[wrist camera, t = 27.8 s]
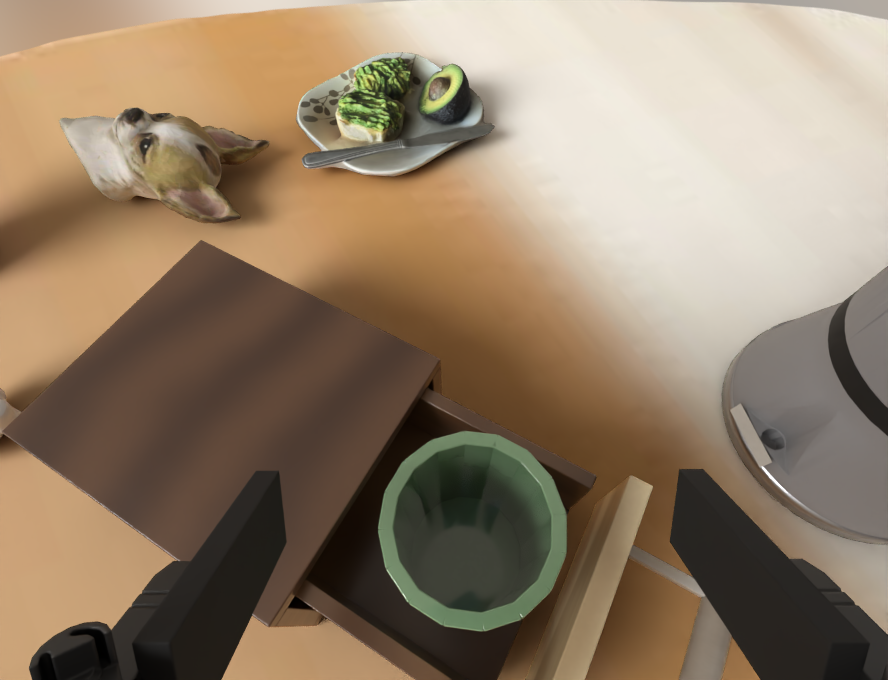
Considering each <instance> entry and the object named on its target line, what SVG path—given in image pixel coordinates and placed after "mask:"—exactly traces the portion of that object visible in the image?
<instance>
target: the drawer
mask: <svg viewBox="0 0 888 680" xmlns="http://www.w3.org/2000/svg"><path fill="white" fill-rule="evenodd" d="M462 431H463V432H464V431H470V432H479V433H488V434H496V435H500V436H501V437H503V438H505V439H507V440H509V441H511V442H513V443H515V444H517V445H519V446H521V447H522V448H524V449H526V450H528V452H530V453H531V454H532V455H533V456H534V457H535V459H536V460H537V461H538V462H539V463H540V464H541V465H542V466H543V468H544V469H545V470H546V471H547V472H548V473H549V474H550V475H551V477H552V479H553V480H554V482H555V485H556V487H557V490H558V492H559V495H560V498H561V500H562V503H563V505H564V508H565V511H566V515H567V514H568V512H569V510H570V509H571V508H572V507H573V506H574V505H575V504H576V503H577V502H578V501H579V500H580V499H581V498H582V497H583V496H584V495H586V494H587V493H588V492H589V491H590V490H591V489H592V487H593V485H594V482H595V480H596V475H594V474H592V473H590V472H588V471H586V470H585V469H583V468H581V467H579V466H577V465H575V464H573V463H571V462H569V461H567V460H565V459H563V458H561V457H559V456H558V455H556V454H554V453H552V452H550V451H548V450H546V449H544V448H542V447H540V446H538V445H536V444H534V443H533V442H531V441H529V440H527V439H525V438H523V437H521V436H519V435H517V434H515V433H513V432H511V431H509V430H508V429H506V428H504V427H502V426H500V425H498V424H496V423H494V422H492V421H490V420H488V419H486V418H484V417H482V416H481V415H479V414H477V413H475V412H473V411H471V410H469V409H467V408H465V407H463V406H461V405H459V404H457V403H456V402H454V401H452V400H450V399H448V398H446V397H444V396H442V395H440V394H438V393H436V392H434V391H432V390H431V389H429V388H426V390H425V391H424V393H423V394H422V396H421V398H420V399H419V401H418V402H417V404H416V406H415V407H414V409H413V410H412V412H411V413H410V415H409V417H408V418H407V420H406V421H405V423H404V424H403V426H402V428H401V429H400V431H399V432H398V434H397V435H396V437H395V439H394V440H393V442H392V443H391V445H390V447H389V448H388V450H387V451H386V453H385V454H384V456H383V458H382V459H381V461H380V462H379V464H378V465H377V467H376V469H375V470H374V472H373V473H372V475H371V476H370V478H369V480H368V481H367V483H366V484H365V486H364V488H363V489H362V491H361V492H360V494H359V495H358V497H357V499H356V500H355V502H354V503H353V505H352V506H351V508H350V510H349V511H348V513H347V514H346V516H345V517H344V519H343V521H342V522H341V524H340V525H339V527H338V529H337V530H336V532H335V533H334V535H333V536H332V538H331V540H330V541H329V543H328V544H327V546H326V547H325V549H324V551H323V552H322V554H321V555H320V557H319V558H318V560H317V562H316V563H315V565H314V566H313V568H312V570H311V571H310V573H309V574H308V576H307V577H306V579H305V581H304V582H303V584H302V585H301V587H300V588H299V590H298V592H297V593H296V595H295V596H296V597H297V598H299V599H300V600H302V601H303V602H305V603H306V604H307V605H309V606H310V607H312V608H313V609H315V610H316V611H318V612H319V613H320V614H322V615H323V616H325V617H326V618H328V619H329V620H330V621H332V622H333V623H335V624H336V625H338V626H339V627H340V628H342V629H343V630H345V631H346V632H348V633H349V634H350V635H352V636H353V637H355V638H356V639H358V640H359V641H360V642H362V643H363V644H365V645H366V646H368V647H369V648H371V649H372V650H373V651H375V652H376V653H378V654H379V655H381V656H382V657H383V658H385V659H386V660H388V661H389V662H391V663H392V664H393V665H395V666H396V667H398V668H399V669H401V670H402V671H403V672H405V673H406V674H408V675H409V676H411V677H412V678H414V679H415V680H497V679H498V677H499V674H500V672H501V670H502V667H503V665H504V663H505V660H506V658H507V655H508V653H509V651H510V648H511V646H512V644H513V641H514V639H515V637H516V634H517V632H518V630H519V627H520V625H521V623H522V620H523V618H522V619H521V620H519V621H516V622H513V623H510V624H507V625H504V626H501V627H497V628H494V629H491V630H488V631H482V632H480V631H473V630H466V629H458V628H451V627H445V626H444V625H440V624H439V623H437V622H436V621H434V620H433V619H431V618H429V617H428V616H426V615H425V614H423V613H422V612H420V611H419V610H417V609H416V608H414V607H413V606H411V605H410V604H409V603H408V602H407V601H406V600H405V598H404V596H403V595H402V593H401V592H400V590H399V589H398V587H397V586H396V584H395V583H394V581H393V580H392V578H391V577H390V575H389V574H388V572H387V570H386V568H385V564H384V559H383V554H382V549H381V544H380V539H379V534H378V530H379V529H378V524H379V519H380V513H381V508H382V502H383V496H384V493H385V490H386V488H387V486H388V485H389V483H390V481H391V480H392V478H393V477H394V475H395V473H396V472H397V470H398V468H399V467H400V465H401V463H402V462H403V461H404V460H405V459H406V458H408V457H409V456H410V455H412V454H413V453H414V452H415V451H417V450H418V449H419V448H421V447H422V446H423V445H425V444H426V443H427V442H429V441H432V440H433V439H436V438H439V437H443V436H447V435H450V434H454V433H458V432H462ZM652 489H653V486H652V485H650V484H648V483H646V482H644V481H642V480H640V479H638V478H636V477H634V476H632V475H630V476H629V477H628V478H626V479H625V480H624V481H623V482H621V483H620V484H619V485H618V486H616V487H615V488H614V489H613V490H612V491H610V492H609V493H608V494H607V495H605V496H604V497H603V498H602V499H600V500H599V501H598V502H597V503H596V504H595V507H594V509H593V512H592V514H591V517H590V519H589V522H588V524H587V527H586V529H585V532H584V534H583V537H582V539H581V541H580V544H579V546H578V549H577V551H576V554H575V556H574V559H573V561H572V564H571V566H570V569H569V571H568V574H567V576H566V579H565V581H564V584H563V586H562V589H561V591H560V594H559V596H558V599H557V601H556V604H555V606H554V609H553V611H552V614H551V616H550V619H549V621H548V623H547V626H546V628H545V631H544V633H543V636H542V638H541V641H540V643H539V646H538V648H537V651H536V653H535V656H534V658H533V661H532V663H531V666H530V668H529V671H528V673H527V676H526V678H525V680H585V678H586V676H587V673H588V670H589V667H590V664H591V661H592V659H593V656H594V653H595V650H596V647H597V644H598V642H599V639H600V636H601V633H602V630H603V627H604V625H605V622H606V619H607V616H608V613H609V610H610V608H611V605H612V602H613V599H614V596H615V593H616V591H617V588H618V585H619V582H620V579H621V576H622V574H623V571H624V568H625V565H626V562H627V560H628V558H630V559H631V560H633V561H635V562H637V563H639V564H640V565H642V566H644V567H646V568H648V569H649V570H651V571H653V572H655V573H657V574H658V575H660V576H662V577H664V578H666V579H667V580H669V581H671V582H673V583H675V584H676V585H678V586H680V587H682V588H684V589H686V590H687V591H689V592H691V593H693V594H695V595H696V596H698V597H701V600H700V604H699V608H698V611H697V615H696V619H695V622H694V626H693V629H692V633H691V637H690V640H689V644H688V647H687V651H686V655H685V658H684V662H683V665H682V669H681V673H680V676H679V680H722V676H723V672H724V668H725V664H726V659H727V655H728V651H729V647H730V643H731V639H732V635H731V634H730V632H729V631H728V629H727V628H726V626H725V625H724V623H723V622H722V620H721V619H720V617H719V616H718V614H717V613H716V611H715V609H714V608H713V606H712V605H711V603H710V602H709V600H708V599H707V597H706V596H705V594H704V593H703V591H702V590H701V588H700V587H699V585H698V584H697V582H696V581H695V579H694V578H693V577H691V576H690V575H688V574H686V573H684V572H682V571H680V570H679V569H677V568H675V567H673V566H671V565H669V564H668V563H666V562H664V561H662V560H660V559H658V558H657V557H655V556H653V555H651V554H649V553H647V552H646V551H644V550H642V549H640V548H638V547H636V546H635V545H633V543H634V540H635V537H636V534H637V531H638V528H639V526H640V523H641V520H642V517H643V514H644V511H645V509H646V506H647V503H648V500H649V497H650V494H651V492H652Z"/></svg>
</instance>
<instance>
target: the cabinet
mask: <svg viewBox="0 0 888 680" xmlns="http://www.w3.org/2000/svg"><path fill="white" fill-rule="evenodd" d="M426 388H429V389H431V390H432V391H434V392H436V393H438V394H440V395H442V389H441V366H440V359H439V358H437V357H435V356H433V355H431V354H429V353H427V352H425V351H423V350H421V349H419V348H417V347H415V346H413V345H411V344H409V343H407V342H405V341H403V340H401V339H399V338H397V337H395V336H393V335H391V334H389V333H387V332H385V331H383V330H381V329H379V328H377V327H375V326H373V325H371V324H369V323H367V322H365V321H362V320H360V319H358V318H356V317H354V316H352V315H350V314H348V313H346V312H344V311H342V310H340V309H338V308H336V307H334V306H332V305H330V304H328V303H326V302H324V301H322V300H320V299H318V298H316V297H314V296H312V295H310V294H308V293H306V292H304V291H302V290H300V289H298V288H296V287H294V286H292V285H290V284H288V283H286V282H284V281H282V280H280V279H278V278H276V277H274V276H272V275H270V274H268V273H266V272H264V271H262V270H260V269H258V268H256V267H254V266H252V265H250V264H248V263H246V262H244V261H242V260H240V259H238V258H236V257H234V256H232V255H230V254H228V253H226V252H224V251H222V250H220V249H218V248H216V247H214V246H212V245H210V244H208V243H206V242H204V241H202V240H201V241H199V242H198V243H197V244H196V245H195V246H194V247H193V248H192V249H191V250H190V251H189V252H188V253H187V254H186V255H185V256H184V257H183V258H182V259H181V260H180V261H179V262H178V263H177V264H175V265H174V266H173V267H172V268H171V269H170V270H169V271H168V272H167V273H166V274H165V275H164V276H163V277H162V278H161V279H160V280H159V281H158V282H157V283H156V284H155V285H154V286H153V287H152V288H150V289H149V290H148V291H147V292H146V293H145V294H144V295H143V296H142V297H141V298H140V299H139V300H138V301H137V302H136V303H135V304H134V305H133V306H132V307H131V308H130V309H129V310H128V311H127V312H125V313H124V314H123V315H122V316H121V317H120V318H119V319H118V320H117V321H116V322H115V323H114V324H113V325H112V326H111V327H110V328H109V329H108V330H107V331H106V332H105V333H104V334H103V335H102V336H100V337H99V338H98V339H97V340H96V341H95V342H94V343H93V344H92V345H91V346H90V347H89V348H88V349H87V350H86V351H85V352H84V353H83V354H82V355H81V356H80V357H79V358H78V359H76V360H75V361H74V362H73V363H72V364H71V365H70V366H69V367H68V368H67V369H66V370H65V371H64V372H63V373H62V374H61V375H60V376H59V377H58V378H57V379H56V380H55V381H54V382H53V383H51V384H50V385H49V386H48V387H47V388H46V389H45V390H44V391H43V392H42V393H41V394H40V395H39V396H38V397H37V398H36V399H35V400H34V401H33V402H32V403H31V404H30V405H29V406H28V407H26V408H25V409H24V410H23V411H22V412H21V413H20V414H19V415H18V416H17V417H16V418H15V419H14V420H13V421H12V422H11V423H10V424H9V425H8V426H7V427H6V428H5V429H4V430H3V431H2V433H3V434H4V435H6V436H7V437H8V438H10V439H11V440H13V441H14V442H15V443H17V444H18V445H19V446H21V447H22V448H24V449H25V450H26V451H28V452H29V453H30V454H32V455H33V456H34V457H36V458H37V459H39V460H40V461H41V462H43V463H44V464H45V465H47V466H48V467H50V468H51V469H52V470H54V471H55V472H56V473H58V474H59V475H60V476H62V477H63V478H65V479H66V480H67V481H69V482H70V483H71V484H73V485H74V486H76V487H77V488H78V489H80V490H81V491H82V492H84V493H85V494H86V495H88V496H89V497H91V498H92V499H93V500H95V501H96V502H97V503H99V504H100V505H102V506H103V507H104V508H106V509H107V510H108V511H110V512H111V513H112V514H114V515H115V516H117V517H118V518H119V519H121V520H122V521H123V522H125V523H126V524H128V525H129V526H130V527H132V528H133V529H134V530H136V531H137V532H138V533H140V534H141V535H143V536H144V537H145V538H147V539H148V540H149V541H151V542H152V543H154V544H155V545H156V546H158V547H159V548H160V549H162V550H163V551H164V552H166V553H167V554H169V555H170V556H171V557H173V558H174V559H175V560H177V561H191V560H192V559H193V557H194V556H195V555H196V553H197V552H198V550H199V549H200V548H201V546H202V545H203V543H204V542H205V541H206V539H207V538H208V537H209V535H210V534H211V532H212V531H213V530H214V528H215V527H216V525H217V524H218V523H219V521H220V520H221V519H222V517H223V516H224V514H225V513H226V512H227V510H228V509H229V507H230V506H231V505H232V503H233V502H234V500H235V499H236V498H237V496H238V495H239V494H240V492H241V491H242V489H243V488H244V487H245V485H246V484H247V482H248V481H249V480H250V478H251V477H252V476H253V474H254V473H255V471H279V474H280V483H281V493H282V502H283V511H284V520H285V530H286V539H287V543H286V545H285V547H284V549H283V551H282V553H281V556H280V558H279V560H278V562H277V564H276V566H275V568H274V570H273V572H272V574H271V577H270V579H269V581H268V583H267V585H266V587H265V589H264V591H263V593H262V595H261V598H260V600H259V602H258V604H257V606H256V608H255V610H254V612H253V614H252V616H253V617H255V618H256V619H258V620H259V621H260V622H262V623H263V624H264V625H266V626H267V627H291V626H317V625H318V623H319V622H320V620H321V618H322V617H323V615H322V614H320V613H319V612H318V611H316V610H315V609H313V608H312V607H310V606H309V605H307V604H306V603H305V602H303V601H302V600H300V599H299V598H297V597H296V596H295V595H296V593H297V592H298V590H299V588H300V587H301V585H302V584H303V582H304V581H305V579H306V577H307V576H308V574H309V573H310V571H311V570H312V568H313V566H314V565H315V563H316V562H317V560H318V558H319V557H320V555H321V554H322V552H323V551H324V549H325V547H326V546H327V544H328V543H329V541H330V540H331V538H332V536H333V535H334V533H335V532H336V530H337V529H338V527H339V525H340V524H341V522H342V521H343V519H344V517H345V516H346V514H347V513H348V511H349V510H350V508H351V506H352V505H353V503H354V502H355V500H356V499H357V497H358V495H359V494H360V492H361V491H362V489H363V488H364V486H365V484H366V483H367V481H368V480H369V478H370V476H371V475H372V473H373V472H374V470H375V469H376V467H377V465H378V464H379V462H380V461H381V459H382V458H383V456H384V454H385V453H386V451H387V450H388V448H389V447H390V445H391V443H392V442H393V440H394V439H395V437H396V435H397V434H398V432H399V431H400V429H401V428H402V426H403V424H404V423H405V421H406V420H407V418H408V417H409V415H410V413H411V412H412V410H413V409H414V407H415V406H416V404H417V402H418V401H419V399H420V398H421V396H422V394H423V393H424V391H425V390H426Z"/></svg>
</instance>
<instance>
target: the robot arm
mask: <svg viewBox="0 0 888 680" xmlns="http://www.w3.org/2000/svg"><path fill="white" fill-rule="evenodd" d="M722 408H723V415H724V420H725V424H726V427H727V430H728V433H729V436H730V438H731V441H732V443H733V445H734V447H735V449H736V451H737V453H738V455H739V456H740V458H741V459H742V461H743V463H744V464H745V466H746V467H747V468H748V470H749V471H750V472H751V474H752V475H753V476H754V477H755V479H756V480H757V481H758V482H759V483H760V484H761V485H762V486H763V487H764V488H765V489H766V490H767V491H768V492H769V493H770V494H771V495H772V496H773V497H774V498H775V499H776V500H778V501H779V502H780V503H781V504H782V505H784V506H785V507H786V508H788V509H789V510H790V511H792V512H793V513H794V514H796V515H798V516H799V517H801V518H802V519H804V520H806V521H807V522H809V523H811V524H813V525H815V526H817V527H819V528H821V529H823V530H825V531H828V532H830V533H832V534H835V535H838V536H841V537H844V538H847V539H851V540H855V541H859V542H865V543H872V544H888V266H887V267H886V268H885V269H884V270H882V271H881V272H880V273H878V274H877V275H876V276H875V277H873V278H872V279H871V280H870V281H868V282H867V283H866V284H865V285H863V286H862V287H861V288H860V289H859V290H858V291H856V292H855V293H854V294H853V295H851V296H850V297H849V298H848V299H846V300H845V301H844V302H842V303H839V304H837V305H834V306H831V307H828V308H825V309H822V310H820V311H817V312H814V313H811V314H809V315H806V316H803V317H801V318H798V319H795V320H791V321H787V322H784V323H781V324H779V325H777V326H774V327H772V328H771V329H769V330H767V331H765V332H763V333H762V334H760V335H759V336H757V337H756V338H755V339H753V340H752V341H751V342H750V343H749V344H748V345H747V346H746V347H745V348H744V349H743V350H742V351H741V352H740V353H739V354H738V355H737V356H736V357H735V359H734V360H733V361H732V363H731V365H730V367H729V368H728V371H727V373H726V376H725V379H724V383H723V390H722ZM286 543H287V539H286V530H285V520H284V511H283V502H282V493H281V483H280V474H279V471H255V473H254V474H253V476H252V477H251V478H250V480H249V481H248V482H247V484H246V485H245V487H244V488H243V489H242V491H241V492H240V494H239V495H238V496H237V498H236V499H235V500H234V502H233V503H232V505H231V506H230V507H229V509H228V510H227V512H226V513H225V514H224V516H223V517H222V519H221V520H220V521H219V523H218V524H217V525H216V527H215V528H214V530H213V531H212V532H211V534H210V535H209V537H208V538H207V539H206V541H205V542H204V543H203V545H202V546H201V548H200V549H199V550H198V552H197V553H196V555H195V556H194V557H193V559H192V560H191V561H173V562H172V563H170V564H169V565H168V566H166V567H165V568H164V569H162V570H161V571H160V572H158V573H157V574H156V575H155V576H154V577H153V578H152V580H151V581H150V582H149V583H148V585H147V586H146V587H145V588H144V590H143V591H142V594H140V595H139V596H138V597H137V598H136V600H135V601H134V602H133V604H132V607H129V609H128V610H127V611H126V612H125V614H124V615H123V616H122V617H121V619H120V620H119V621H118V623H117V624H116V625H115V626H114V628H113V629H112V630H111V629H110V628H109V627H108V625H107V624H104V623H101V622H87V623H82V624H79V625H76V626H73V627H70V628H68V629H66V630H64V631H62V632H60V633H58V634H57V635H55V636H53V637H52V638H51V639H50V640H48V641H47V642H46V643H45V644H43V645H42V646H41V647H40V648H39V650H38V651H37V652H36V653H35V655H34V656H33V657H32V660H31V663H30V666H29V670H30V673H31V677H32V680H221V679H222V677H223V675H224V673H225V671H226V669H227V667H228V665H229V663H230V660H231V658H232V656H233V654H234V652H235V650H236V648H237V646H238V644H239V642H240V639H241V637H242V635H243V633H244V631H245V629H246V627H247V625H248V623H249V621H250V618H251V616H252V614H253V612H254V610H255V608H256V606H257V604H258V602H259V600H260V598H261V595H262V593H263V591H264V589H265V587H266V585H267V583H268V581H269V579H270V577H271V574H272V572H273V570H274V568H275V566H276V564H277V562H278V560H279V558H280V556H281V553H282V551H283V549H284V547H285V545H286ZM670 543H671V544H672V546H673V547H674V549H675V550H676V552H677V553H678V555H679V556H680V558H681V559H682V561H683V562H684V564H685V565H686V567H687V568H688V570H689V571H690V573H691V575H692V576H693V578H694V579H695V581H696V582H697V584H698V585H699V587H700V588H701V590H702V591H703V593H704V594H705V596H706V597H707V599H708V600H709V602H710V603H711V605H712V606H713V608H714V609H715V611H716V613H717V614H718V616H719V617H720V619H721V620H722V622H723V623H724V625H725V626H726V628H727V629H728V631H729V632H730V634H731V635H732V637H733V638H734V640H735V641H736V643H737V644H738V646H739V647H740V649H741V651H742V652H743V654H744V655H745V657H746V658H747V660H748V661H749V663H750V664H751V666H752V667H753V669H754V670H755V672H756V673H757V675H758V676H759V678H760V679H761V680H888V635H887V634H886V633H885V632H884V631H883V630H882V629H881V628H880V627H879V626H878V625H877V624H876V623H875V622H874V621H873V620H872V619H871V618H870V617H869V616H868V615H867V614H866V613H865V612H864V611H863V610H862V609H861V608H860V607H859V606H856V605H855V603H854V601H853V600H852V599H851V598H850V597H849V596H848V595H847V594H846V593H845V592H841V589H840V588H839V587H838V586H837V585H836V584H835V583H834V582H833V581H832V580H831V579H830V578H829V577H828V576H827V575H826V574H825V573H824V572H822V571H821V570H819V569H818V568H816V567H814V566H813V565H811V564H810V563H808V562H806V561H805V560H803V559H789V558H788V557H787V556H786V555H785V554H784V553H783V552H782V551H781V550H780V549H779V548H778V547H777V546H776V545H775V544H774V543H773V542H772V541H771V540H770V538H769V537H768V536H767V535H766V534H765V533H764V532H763V531H762V530H761V529H760V528H759V527H758V526H757V525H756V524H755V523H754V522H753V521H752V520H751V519H750V518H749V517H748V516H747V515H746V514H745V513H744V511H743V510H742V509H741V508H740V507H739V506H738V505H737V504H736V503H735V502H734V501H733V500H732V499H731V498H730V497H729V496H728V495H727V494H726V493H725V492H724V491H723V490H722V489H721V488H720V487H719V485H718V484H717V483H716V482H715V481H714V480H713V479H712V478H711V477H710V476H709V475H708V474H707V473H706V472H705V471H704V470H703V469H679V476H678V483H677V491H676V499H675V506H674V514H673V521H672V529H671V536H670Z"/></svg>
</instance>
